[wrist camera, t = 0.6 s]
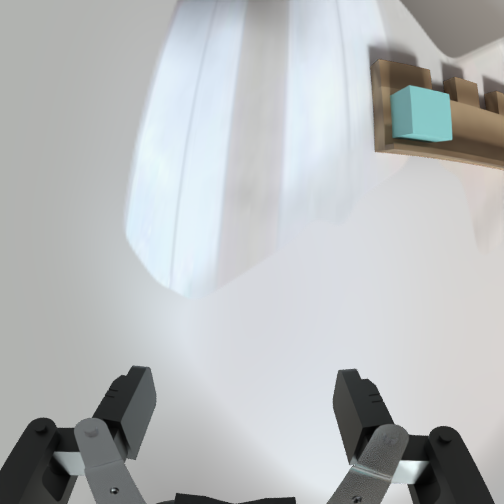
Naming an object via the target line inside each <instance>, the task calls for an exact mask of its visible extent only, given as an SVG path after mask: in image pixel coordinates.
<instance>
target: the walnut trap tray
mask: <svg viewBox="0 0 504 504" xmlns="http://www.w3.org/2000/svg"><path fill="white" fill-rule="evenodd" d="M370 70H371V81H372V94H373V109H374V132H375V152H381V153H392V154H401V155H411V156H419V157H427V158H435V159H442V160H449V161H455V162H462V163H468V164H473V165H479V166H485V167H490V168H495V169H500V170H504V94H503V93H501V92H498V91H494V92H490V93H486V94H484V97H485V106H486V110H484V109H481V108H480V105H479V96H478V88H477V84H476V83H473V82H470V81H467V80H464V79H461V78H457V77H453V78H450V79H448V80H446V81H443V85H444V93H446V94H449V98H450V109H451V122H452V140H448V141H440V142H432V143H426V142H420V141H412V140H405V139H397V138H392V117H391V101H390V95H392V94H394V93H396V92H398V91H400V90H401V89H403V88H405V87H407V86H409V85H411V86H416V87H421V88H425V89H430V90H432V84H431V75H430V70H429V69H425V68H420V67H416V66H412V65H407V64H402V63H398V62H392V61H387V60H381V59H378V60H377V61H376V62H375V63H374V64H373V65H371V66H370Z"/></svg>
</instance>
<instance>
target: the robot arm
mask: <svg viewBox="0 0 504 504" xmlns="http://www.w3.org/2000/svg"><path fill="white" fill-rule="evenodd" d="M155 406H156V391H155V387H154V382H153V377H152V373H151V369H150V368H149V367H142V366H132V367H131V369H130V370H129V372H128V374H127V376H125V375H121V376H120V377H119V378H117V379H116V380H114V381H113V383H112V384H111V386H110V388H109V391H107V393H106V394H105V397H104V398H103V399H102V401H101V403H100V405H99V406H98V408H97V410H96V411H95V413H94V415H93V417H92V418H87V419H84V420H82V421H80V422H79V423H78V424H77V425H76V426H75V428H57V427H56V425H55V423H54V422H53V421H52V420H51V419H48V418H38V419H35V420H33V421H32V422H31V423H30V424H29V425H28V426H27V428H26V429H25V431H24V432H23V434H22V435H21V437H20V439H19V440H18V442H17V443H16V445H15V447H14V448H13V450H12V452H11V453H10V455H9V457H8V458H7V460H6V462H5V463H4V465H3V467H2V468H1V470H0V504H67V503H68V500H69V498H70V495H71V493H72V490H73V487H74V485H75V482H76V480H77V477H78V475H85V476H86V478H87V481H88V484H89V486H90V489H91V491H92V494H93V496H94V499H95V501H96V504H146V502H145V501H144V499H143V498H142V495H141V494H140V492H139V490H138V488H137V487H136V485H135V483H134V481H133V479H132V477H131V475H130V473H129V471H128V470H127V468H126V466H125V464H124V463H125V461H126V458H128V459H134V460H136V457H137V454H138V452H139V449H140V446H141V443H142V441H143V438H144V435H145V433H146V430H147V427H148V424H149V422H150V419H151V416H152V414H153V411H154V409H155ZM333 409H334V413H335V416H336V419H337V423H338V427H339V430H340V434H341V437H342V440H343V444H344V448H345V451H346V455H347V458H348V462H349V465H353V466H352V467H351V469H350V470H349V472H348V473H347V475H346V476H345V478H344V479H343V481H342V482H341V484H340V485H339V487H338V488H337V490H336V491H335V492H334V494H333V495H332V497H331V498H330V499H329V501H328V502H327V504H380V503H381V501H382V499H383V497H384V495H385V493H386V492H387V490H388V488H389V486H390V484H391V483H394V484H407V485H408V488H409V491H410V494H411V498H412V501H413V504H495V503H494V501H493V499H492V497H491V495H490V492H489V490H488V488H487V486H486V484H485V482H484V480H483V478H482V476H481V474H480V472H479V470H478V468H477V466H476V464H475V462H474V461H473V459H472V456H471V455H470V453H469V451H468V449H467V447H466V445H465V443H464V442H463V440H462V438H461V436H460V434H459V433H458V432H457V431H456V430H454V429H453V428H451V427H447V426H440V427H437V428H435V429H433V430H432V431H431V432H430V434H429V436H420V435H409V434H408V432H407V431H406V430H405V429H404V428H403V427H401V426H399V425H395V424H394V422H393V420H392V418H391V415H390V414H389V411H388V409H387V407H386V405H385V403H384V402H383V399H382V397H381V396H380V393H379V391H378V389H377V387H376V385H374V384H373V383H372V382H371V381H370V380H369V379H361V378H360V375H359V373H358V371H357V370H356V369H346V370H339V371H338V374H337V380H336V385H335V390H334V395H333ZM354 464H355V466H354ZM157 504H232V503H228V502H224V501H220V500H217V499H213V498H209V497H206V496H198V495H189V494H180V493H176V496H175V500H170V501H164V502H160V503H157ZM238 504H296V500H295V497H287V498H264V499H260V500H255V501H249V502H244V503H238Z"/></svg>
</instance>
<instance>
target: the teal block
mask: <svg viewBox="0 0 504 504" xmlns="http://www.w3.org/2000/svg"><path fill="white" fill-rule="evenodd" d="M390 101H391V117H392V138H397V139H405V140H412V141H420V142H426V143H432V142H440V141H448V140H452V122H451V109H450V98H449V94H446V93H442V92H438V91H434V90H430V89H425V88H421V87H416V86H411V85H409V86H407V87H405V88H403V89H401V90H400V91H398V92H396V93H394V94H392V95H390Z"/></svg>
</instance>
